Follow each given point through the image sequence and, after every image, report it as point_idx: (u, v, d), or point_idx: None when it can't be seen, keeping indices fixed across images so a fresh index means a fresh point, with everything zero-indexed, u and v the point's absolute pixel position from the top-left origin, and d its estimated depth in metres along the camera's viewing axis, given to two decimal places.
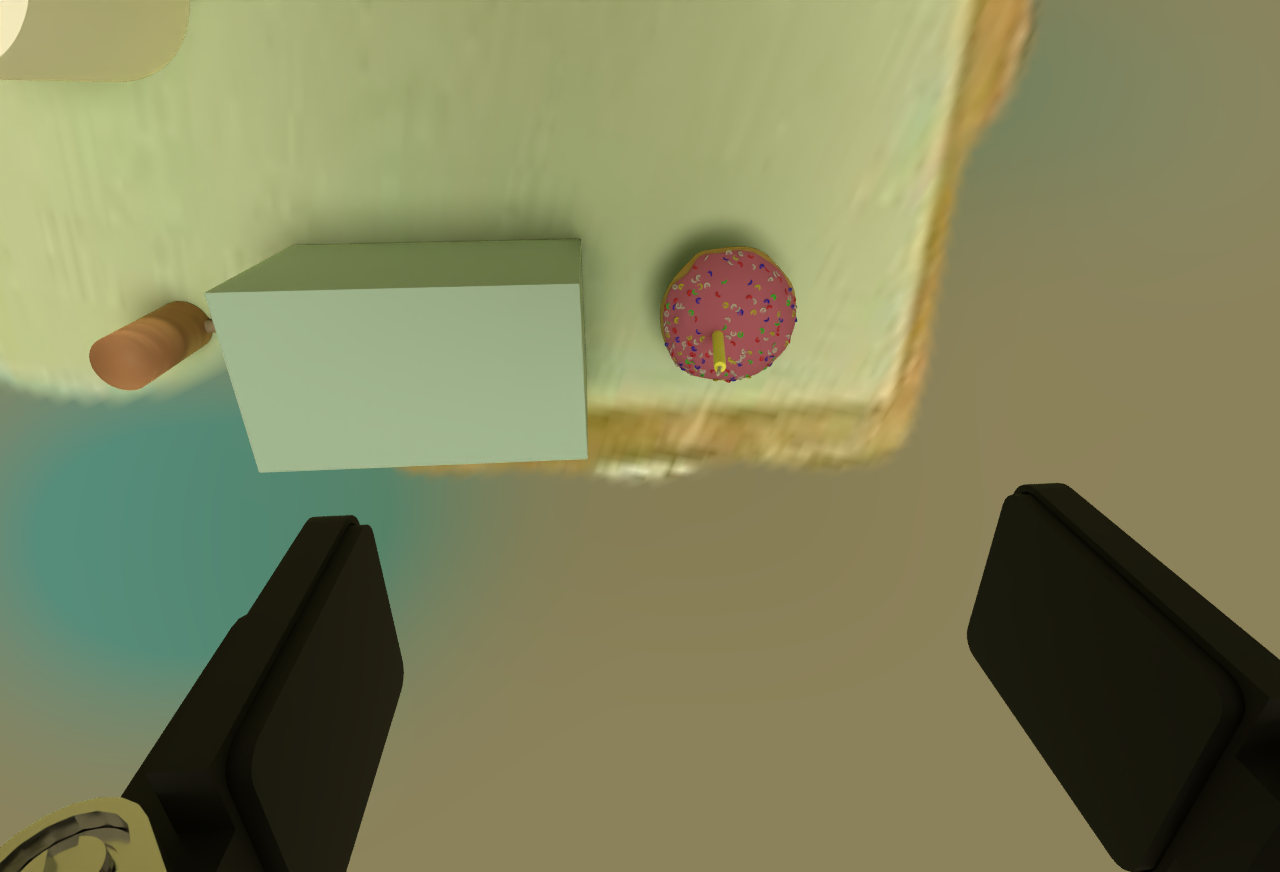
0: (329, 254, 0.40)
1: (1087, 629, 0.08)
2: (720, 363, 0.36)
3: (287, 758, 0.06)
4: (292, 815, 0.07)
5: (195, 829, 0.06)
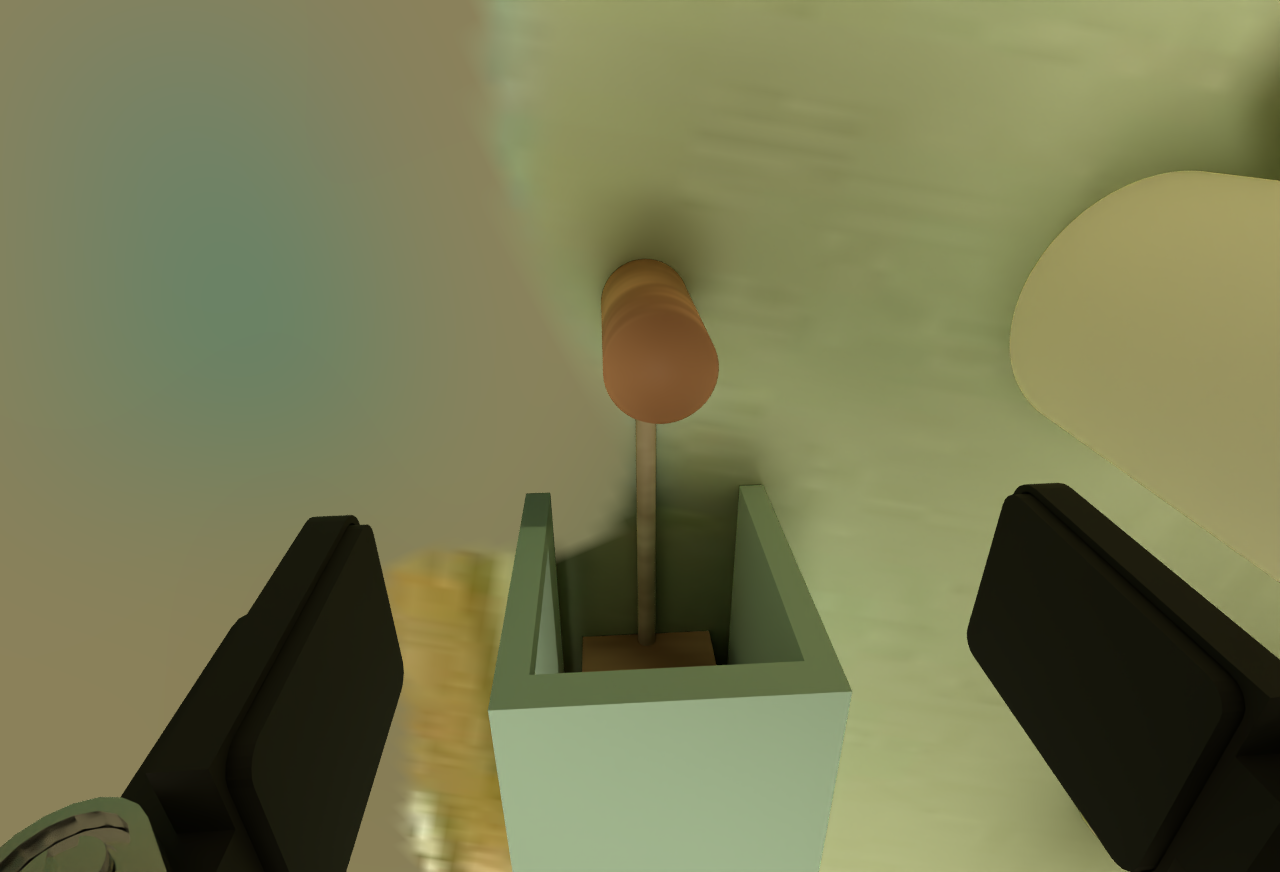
0: None
1: (1087, 629, 0.08)
2: None
3: (287, 758, 0.06)
4: (292, 815, 0.07)
5: (195, 829, 0.06)
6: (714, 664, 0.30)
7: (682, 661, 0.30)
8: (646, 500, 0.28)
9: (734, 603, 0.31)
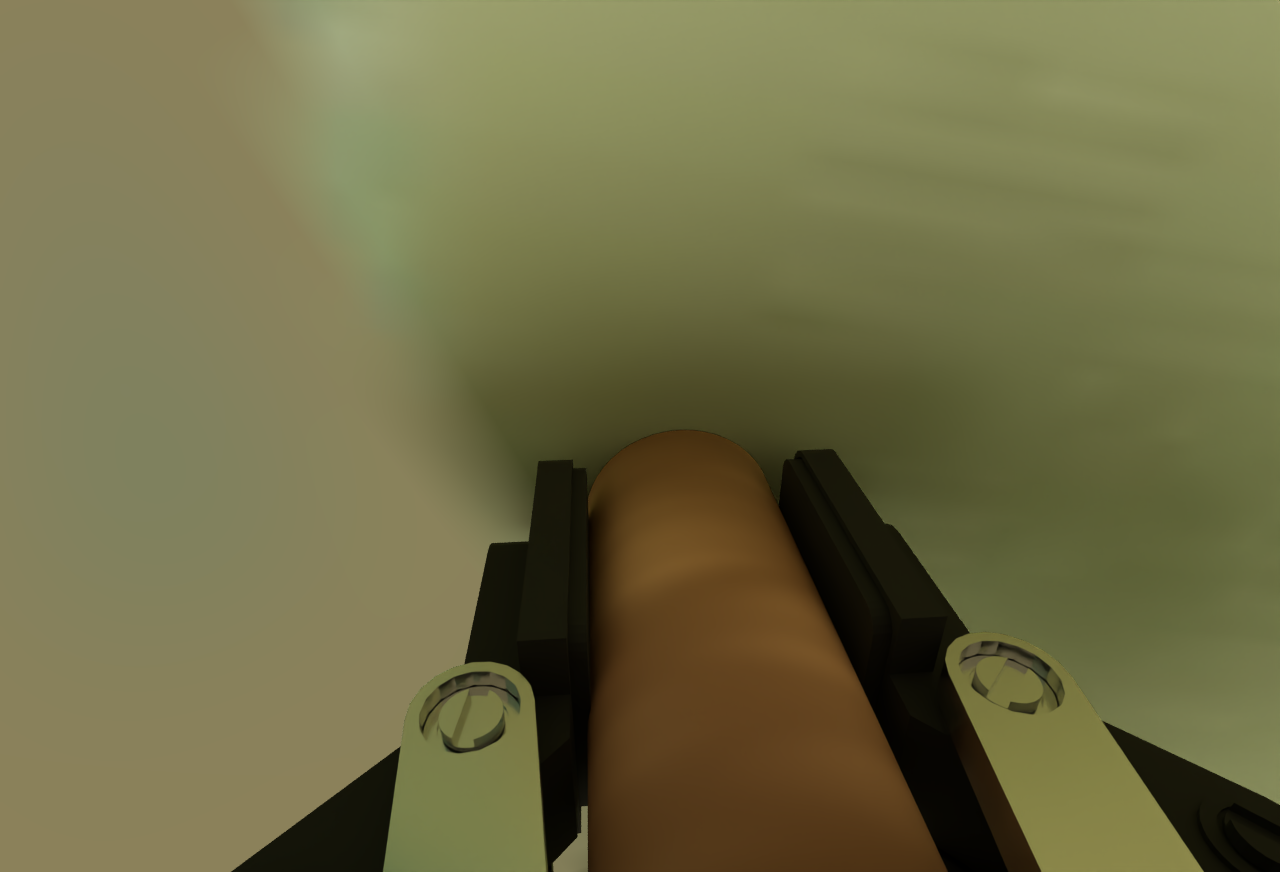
0: None
1: (819, 574, 0.09)
2: None
3: (588, 644, 0.08)
4: (590, 693, 0.08)
5: (540, 692, 0.07)
6: None
7: None
8: None
9: None
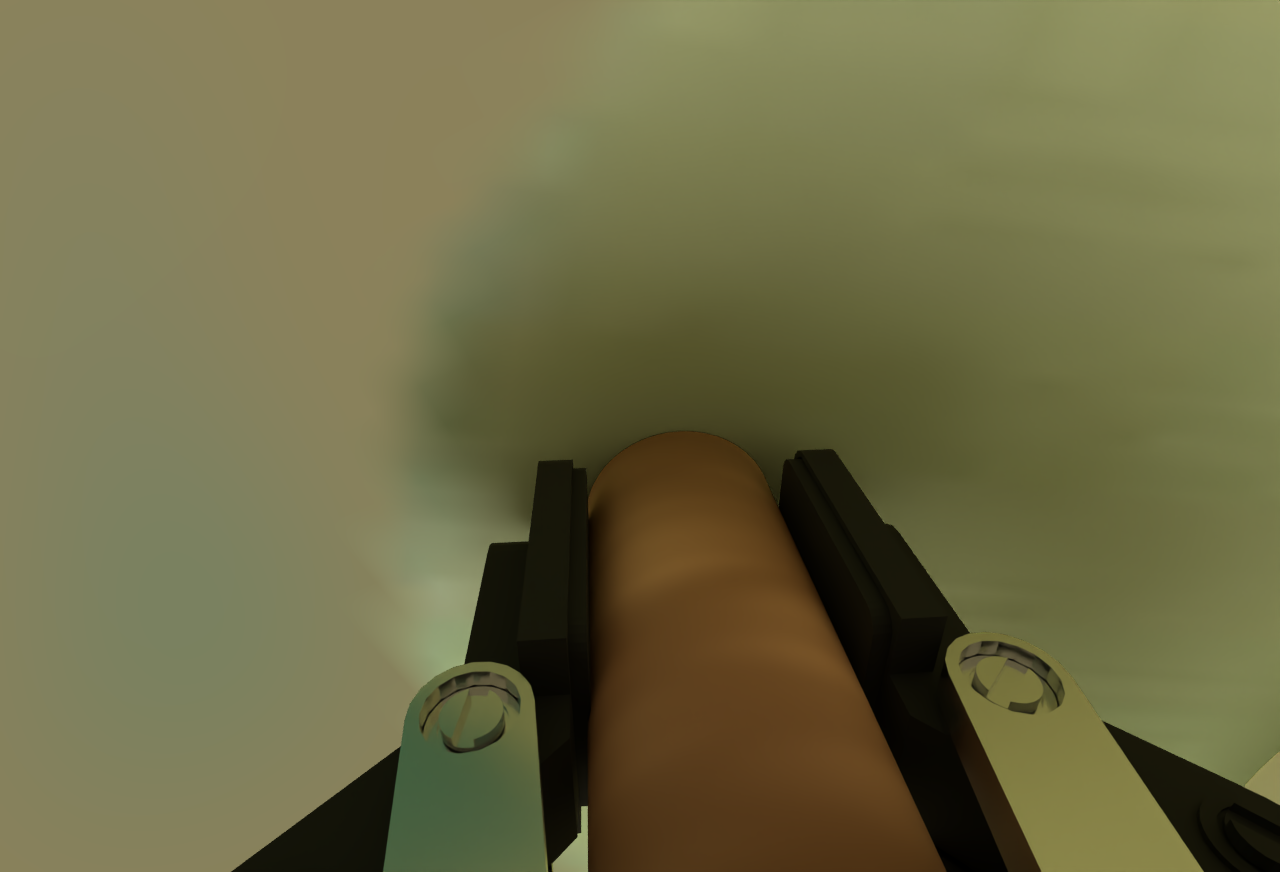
0: None
1: (819, 575, 0.09)
2: None
3: (588, 644, 0.08)
4: (590, 693, 0.08)
5: (540, 692, 0.07)
6: None
7: None
8: None
9: None
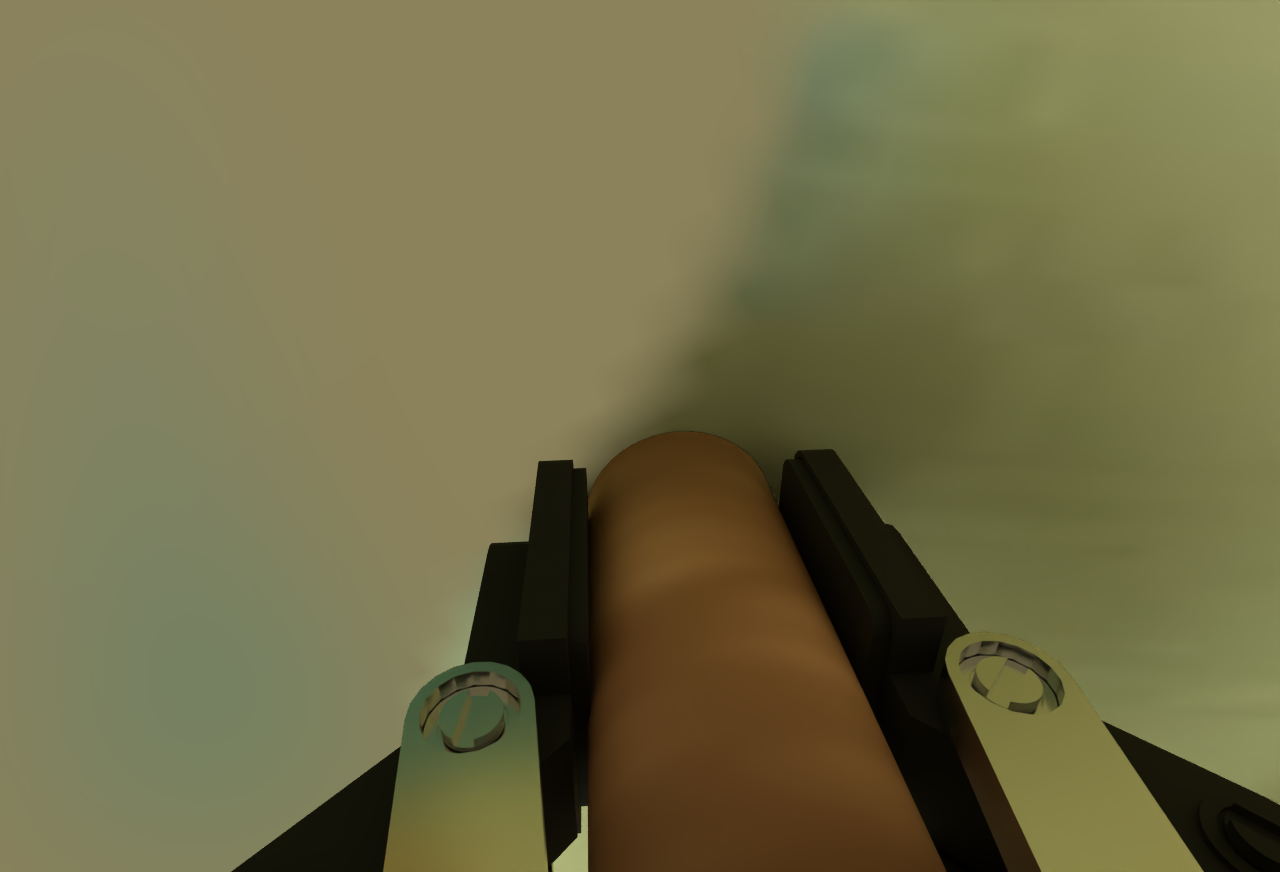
0: None
1: (819, 574, 0.09)
2: None
3: (588, 644, 0.08)
4: (590, 693, 0.08)
5: (540, 692, 0.07)
6: None
7: None
8: None
9: None
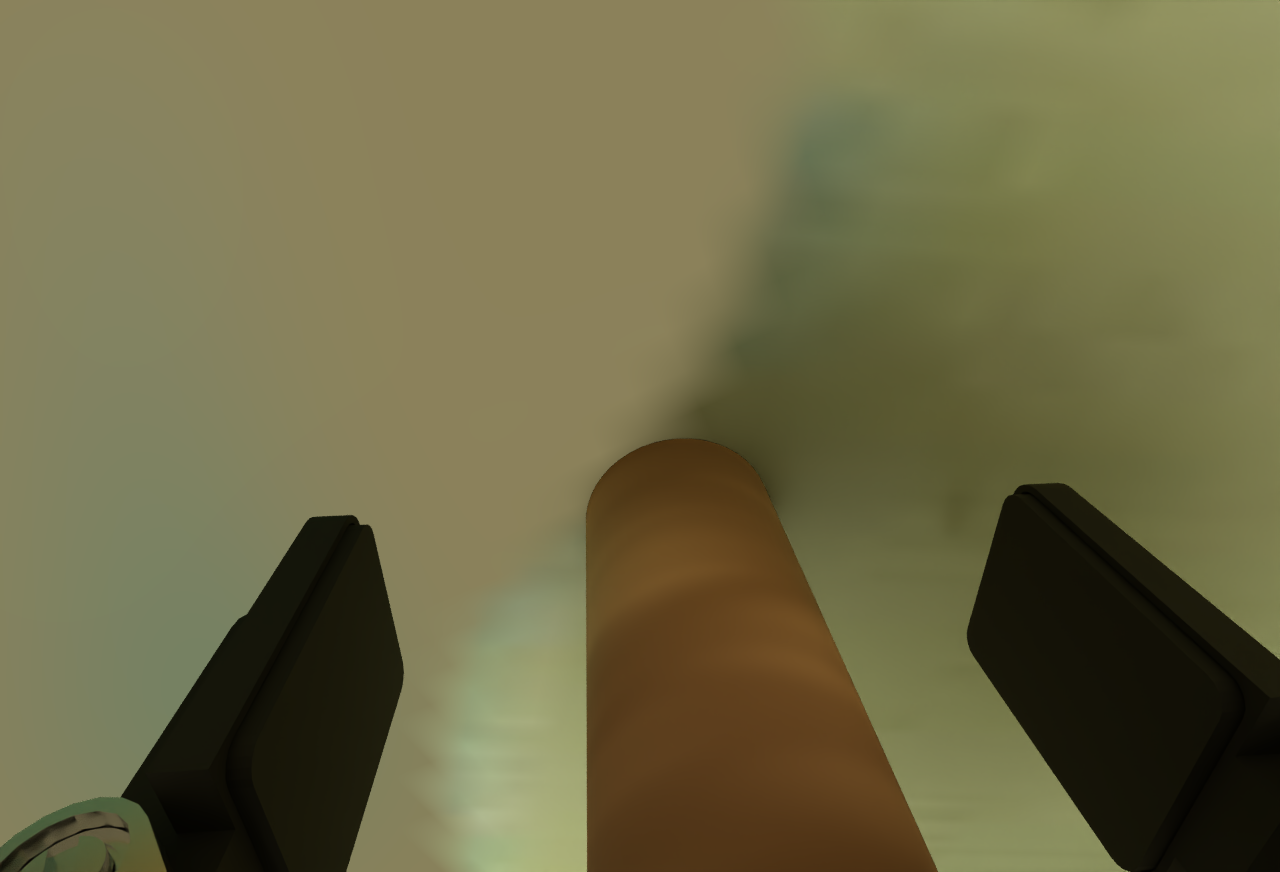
0: None
1: (1087, 629, 0.08)
2: None
3: (287, 758, 0.06)
4: (292, 815, 0.07)
5: (195, 829, 0.06)
6: None
7: None
8: None
9: None
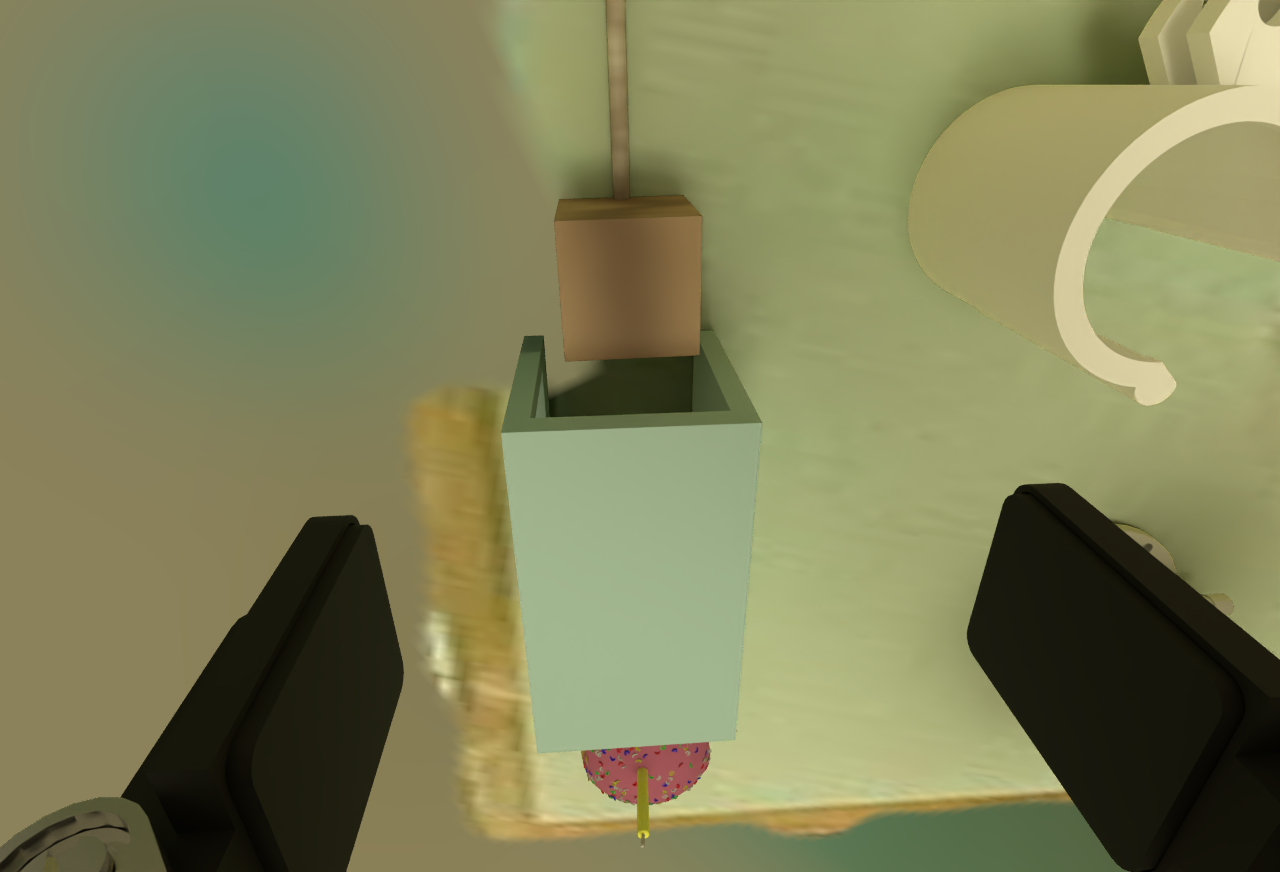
0: None
1: (1087, 629, 0.08)
2: (647, 835, 0.37)
3: (287, 758, 0.06)
4: (292, 815, 0.07)
5: (195, 829, 0.06)
6: (687, 201, 0.31)
7: (656, 202, 0.31)
8: (615, 0, 0.28)
9: None
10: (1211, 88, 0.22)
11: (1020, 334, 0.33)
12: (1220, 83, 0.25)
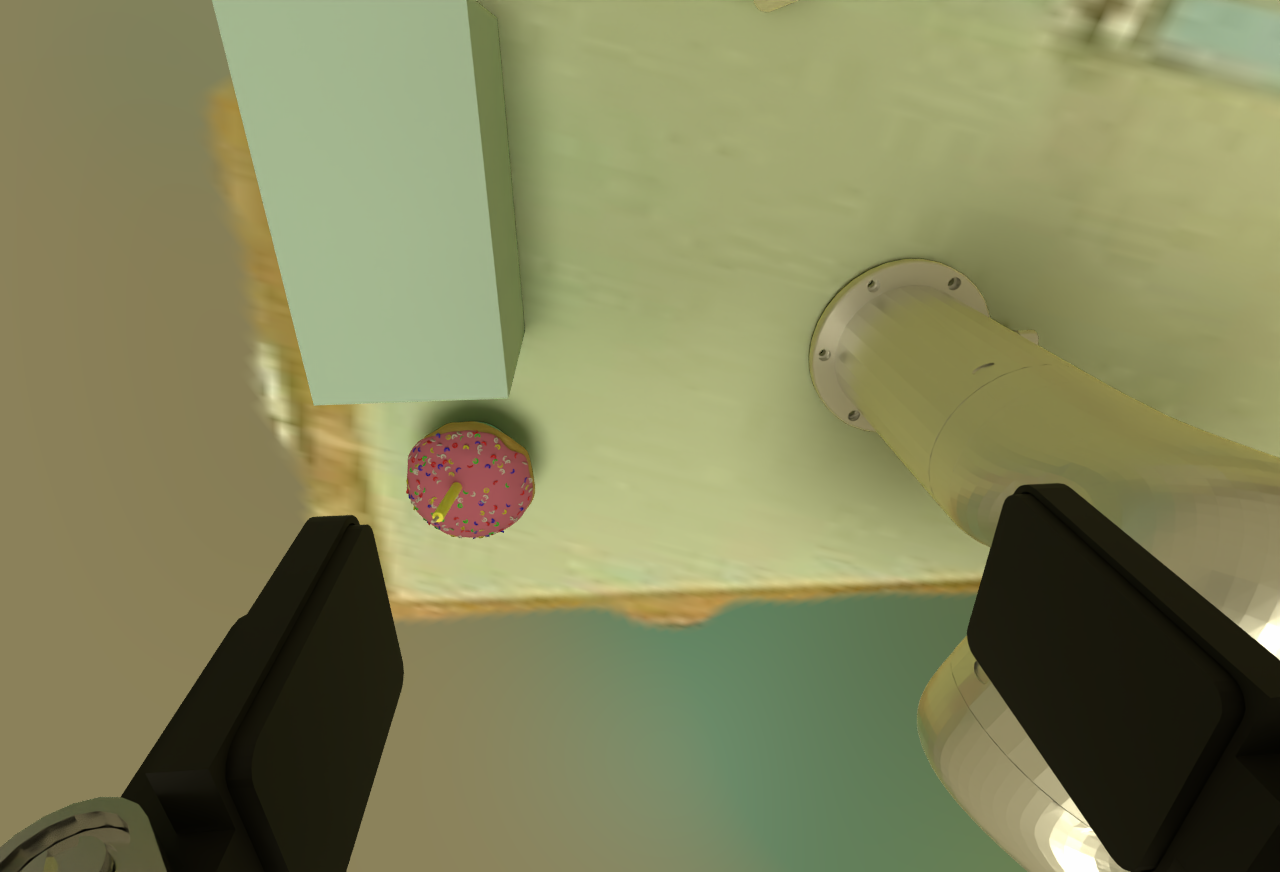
0: (496, 83, 0.36)
1: (1087, 629, 0.08)
2: (441, 517, 0.39)
3: (287, 758, 0.07)
4: (292, 815, 0.07)
5: (195, 829, 0.06)
6: None
7: None
8: None
9: None
10: None
11: None
12: None
